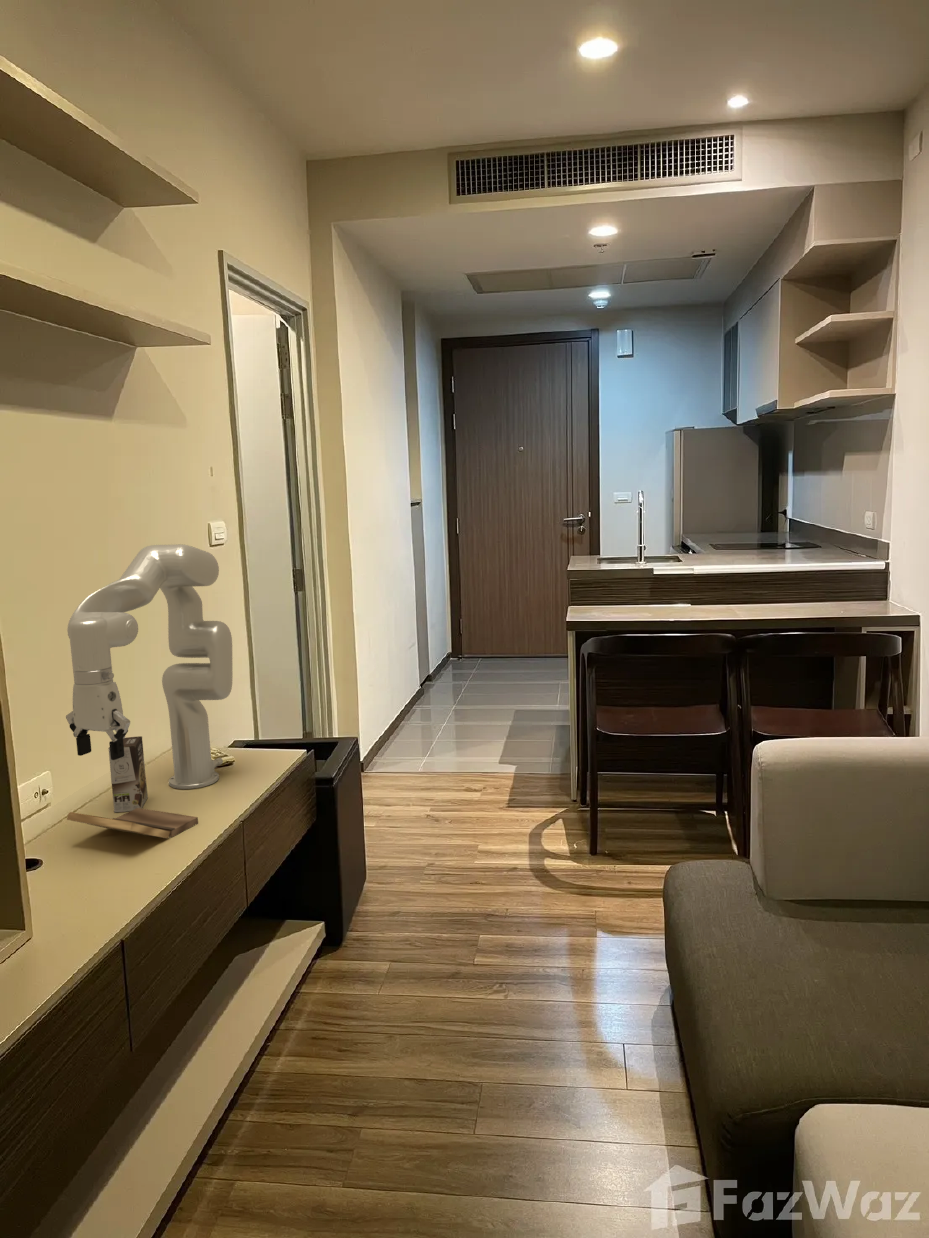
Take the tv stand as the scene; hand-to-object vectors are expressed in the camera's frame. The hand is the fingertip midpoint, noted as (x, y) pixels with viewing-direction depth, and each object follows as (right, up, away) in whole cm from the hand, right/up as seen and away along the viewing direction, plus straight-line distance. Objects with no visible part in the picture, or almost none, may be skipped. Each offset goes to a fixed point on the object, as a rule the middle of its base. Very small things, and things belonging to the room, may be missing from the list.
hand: (101, 755), depth 186 cm
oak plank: (+2, -17, +5) cm, 17 cm away
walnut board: (+6, -18, +15) cm, 24 cm away
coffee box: (-4, -17, +28) cm, 33 cm away
